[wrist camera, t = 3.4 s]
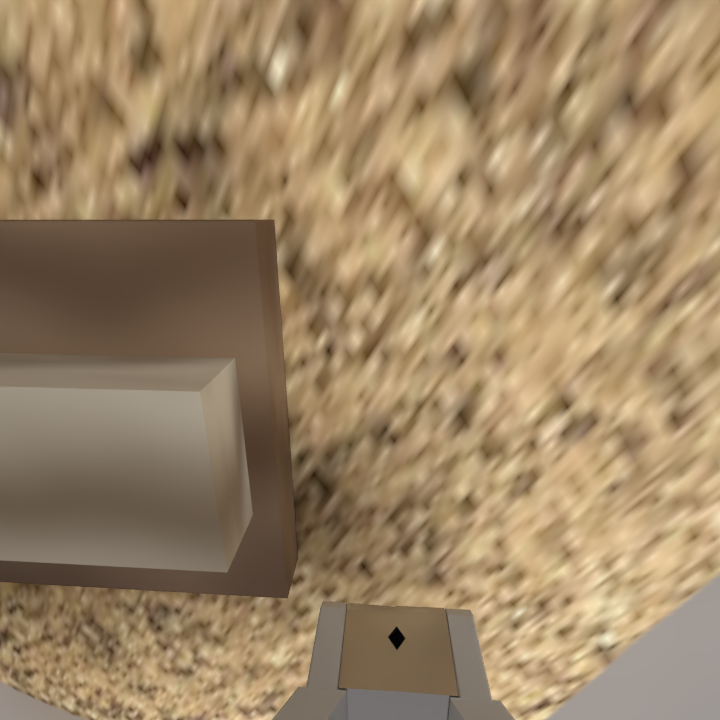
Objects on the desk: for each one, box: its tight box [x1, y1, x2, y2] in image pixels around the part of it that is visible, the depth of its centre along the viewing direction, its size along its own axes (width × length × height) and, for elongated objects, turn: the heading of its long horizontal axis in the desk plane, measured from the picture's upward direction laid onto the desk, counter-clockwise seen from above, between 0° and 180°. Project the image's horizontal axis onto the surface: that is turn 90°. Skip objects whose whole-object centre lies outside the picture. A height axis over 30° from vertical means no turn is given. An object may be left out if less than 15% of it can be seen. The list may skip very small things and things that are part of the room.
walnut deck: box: [0, 220, 298, 598], centre depth 15 cm, size 14×16×2 cm
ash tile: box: [0, 353, 253, 573], centre depth 13 cm, size 6×8×2 cm
